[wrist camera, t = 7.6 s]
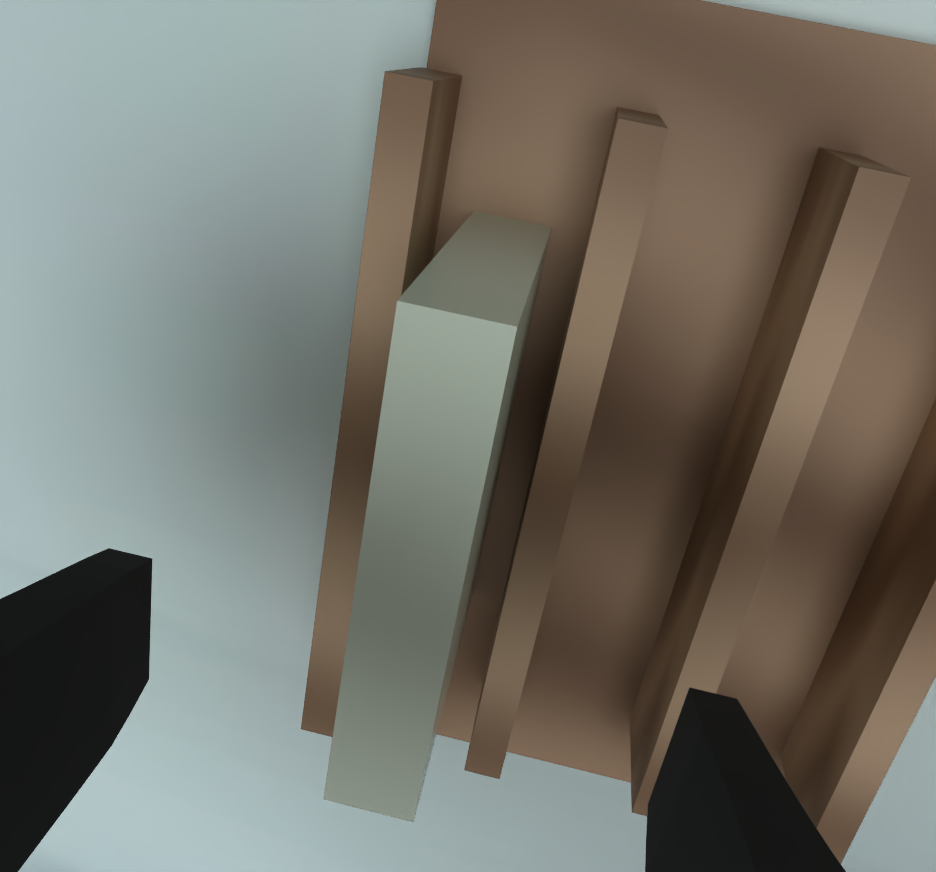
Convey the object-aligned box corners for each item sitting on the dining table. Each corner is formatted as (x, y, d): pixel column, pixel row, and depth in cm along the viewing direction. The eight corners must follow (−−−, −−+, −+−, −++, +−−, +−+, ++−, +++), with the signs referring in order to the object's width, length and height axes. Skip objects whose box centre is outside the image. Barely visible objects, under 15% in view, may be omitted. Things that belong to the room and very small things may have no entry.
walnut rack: (779, 791, 24) (809, 925, 20) (339, 683, 25) (292, 792, 21) (1095, 79, 16) (1233, 89, 13) (448, -45, 17) (402, -70, 13)
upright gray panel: (472, 594, 22) (413, 821, 15) (408, 579, 22) (323, 798, 15) (551, 227, 18) (516, 326, 11) (473, 210, 18) (397, 300, 12)
